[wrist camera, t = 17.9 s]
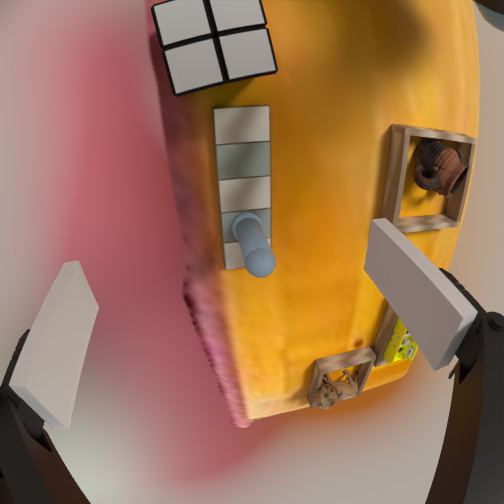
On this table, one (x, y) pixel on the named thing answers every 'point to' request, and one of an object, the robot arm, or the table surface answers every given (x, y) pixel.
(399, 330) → the yellow toy chassis
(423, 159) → the pottery mug
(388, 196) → the frame
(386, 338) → the camera organizer frame
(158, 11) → the puzzle cube
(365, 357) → the figurine organizer frame
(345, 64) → the table surface
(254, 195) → the track
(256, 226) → the blue-grey rounded peg
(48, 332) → the robot arm
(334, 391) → the lion figurine
